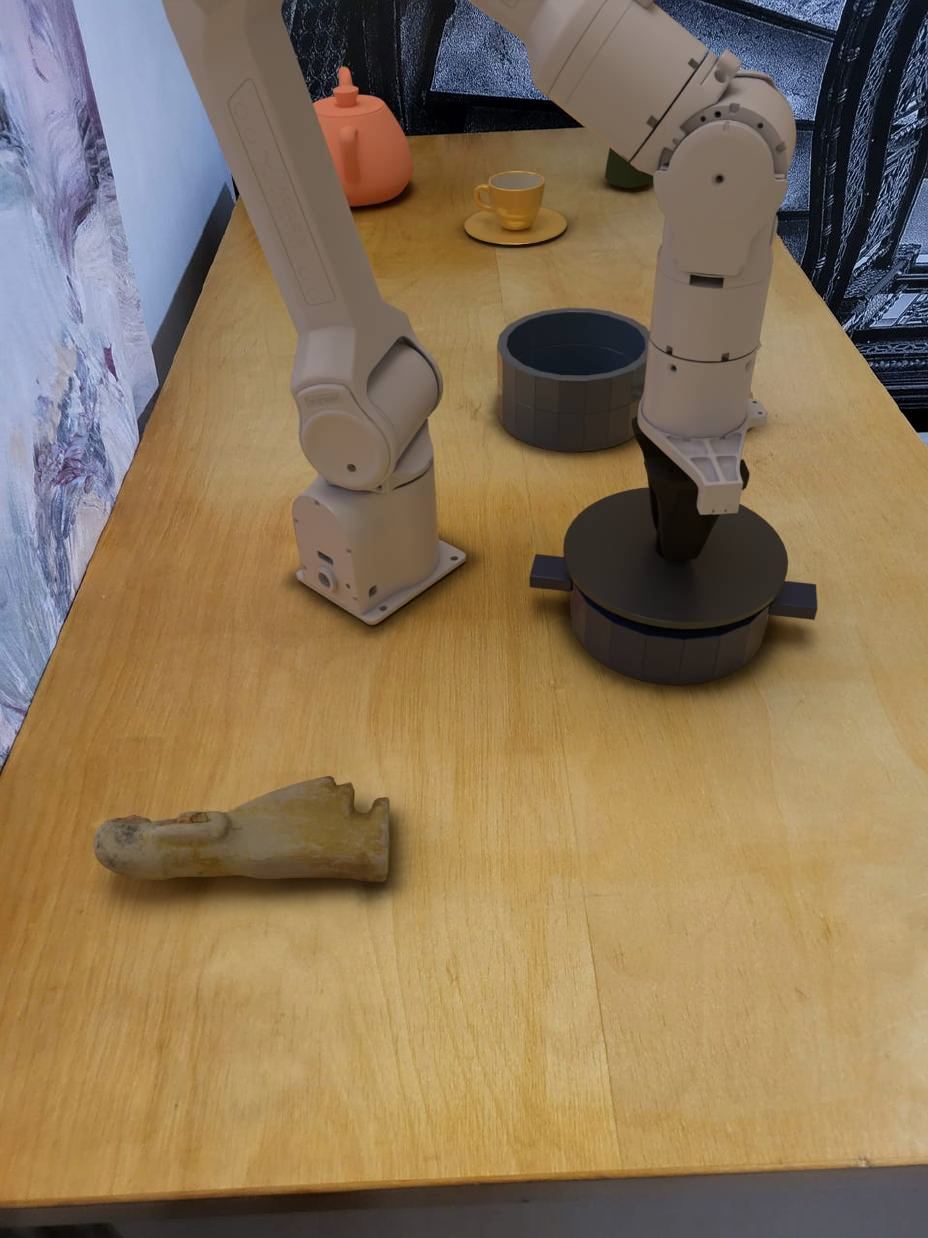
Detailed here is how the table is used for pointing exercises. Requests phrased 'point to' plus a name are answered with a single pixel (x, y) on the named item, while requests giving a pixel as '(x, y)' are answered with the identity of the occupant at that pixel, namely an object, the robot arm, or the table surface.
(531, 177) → the cup
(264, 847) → the figurine
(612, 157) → the character mug
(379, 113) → the teapot
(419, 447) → the robot arm
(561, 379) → the pot
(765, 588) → the lid
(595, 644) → the pan
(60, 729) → the table surface
